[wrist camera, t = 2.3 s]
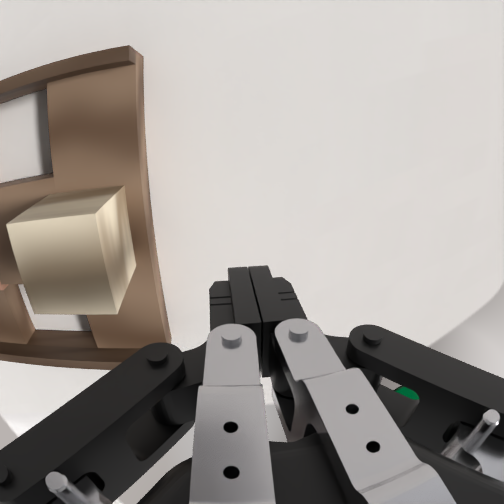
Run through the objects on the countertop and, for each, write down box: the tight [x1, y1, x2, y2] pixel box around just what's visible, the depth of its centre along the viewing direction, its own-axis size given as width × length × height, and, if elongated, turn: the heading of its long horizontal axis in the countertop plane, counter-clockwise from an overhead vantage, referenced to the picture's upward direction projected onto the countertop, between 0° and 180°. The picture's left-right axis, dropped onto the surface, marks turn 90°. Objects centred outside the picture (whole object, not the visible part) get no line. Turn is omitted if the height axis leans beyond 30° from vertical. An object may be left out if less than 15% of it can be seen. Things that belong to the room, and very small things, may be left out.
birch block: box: [6, 185, 136, 315], centre depth 15 cm, size 5×5×5 cm
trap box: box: [0, 45, 171, 370], centre depth 17 cm, size 20×18×4 cm
